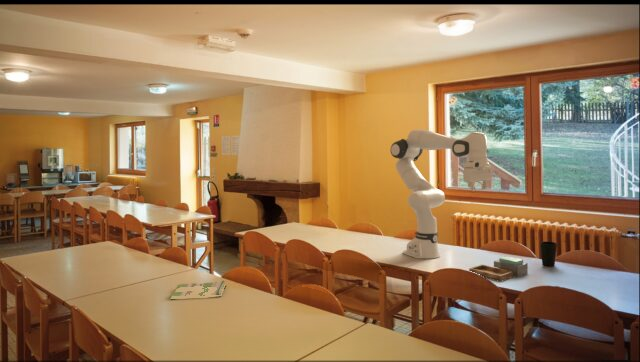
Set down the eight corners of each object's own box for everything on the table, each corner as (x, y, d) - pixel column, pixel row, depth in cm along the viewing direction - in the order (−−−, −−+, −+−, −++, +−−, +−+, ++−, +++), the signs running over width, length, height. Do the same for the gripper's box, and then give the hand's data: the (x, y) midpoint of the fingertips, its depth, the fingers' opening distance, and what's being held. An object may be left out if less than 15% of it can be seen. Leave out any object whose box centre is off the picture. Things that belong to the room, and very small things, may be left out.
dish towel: (221, 298, 189) (221, 291, 189) (168, 301, 187) (168, 294, 187) (226, 286, 206) (226, 279, 206) (178, 289, 204) (178, 281, 204)
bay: (500, 272, 212) (500, 263, 211) (510, 269, 217) (510, 259, 217) (517, 276, 204) (517, 266, 204) (527, 273, 210) (527, 263, 209)
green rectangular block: (492, 270, 217) (492, 256, 217) (498, 267, 221) (498, 254, 220) (516, 275, 207) (516, 261, 206) (523, 273, 210) (523, 259, 209)
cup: (558, 267, 217) (559, 244, 216) (542, 267, 218) (543, 244, 218) (553, 263, 224) (554, 241, 224) (538, 263, 226) (538, 241, 225)
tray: (469, 273, 213) (469, 268, 212) (482, 269, 219) (482, 264, 219) (500, 281, 199) (500, 276, 199) (513, 276, 205) (513, 271, 205)
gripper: (484, 162, 227) (484, 188, 228) (460, 164, 215) (461, 191, 216) (495, 162, 222) (495, 188, 223) (471, 164, 210) (471, 192, 211)
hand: (478, 190), depth 219 cm, fingers open, 8 cm apart
